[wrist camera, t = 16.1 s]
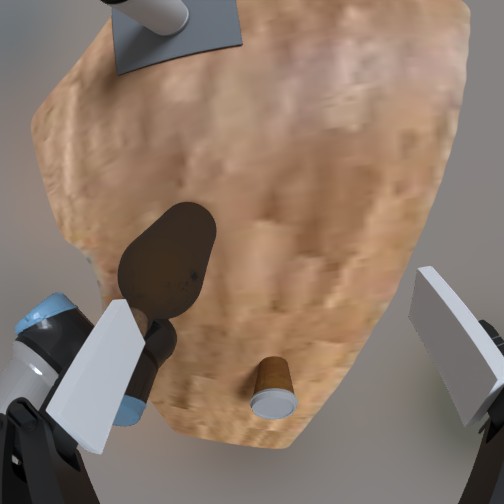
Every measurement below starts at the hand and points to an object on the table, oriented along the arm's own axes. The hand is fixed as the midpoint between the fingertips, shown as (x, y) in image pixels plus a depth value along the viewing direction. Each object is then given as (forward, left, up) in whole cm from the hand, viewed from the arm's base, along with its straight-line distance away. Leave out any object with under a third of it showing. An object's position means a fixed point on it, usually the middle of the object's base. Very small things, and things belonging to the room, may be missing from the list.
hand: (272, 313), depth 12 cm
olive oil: (-14, -8, -34) cm, 38 cm away
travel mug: (-11, +26, -34) cm, 44 cm away
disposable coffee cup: (-3, -42, -34) cm, 55 cm away
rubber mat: (-11, +27, -34) cm, 45 cm away
